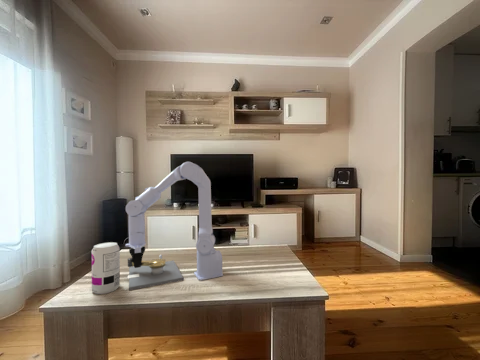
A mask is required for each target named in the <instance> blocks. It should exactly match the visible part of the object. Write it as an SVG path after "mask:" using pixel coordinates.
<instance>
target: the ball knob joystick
mask: <svg viewBox="0 0 480 360" xmlns="http://www.w3.org/2000/svg"><path fill="white" fill-rule="evenodd" d="M165 262H166V259H165V258H162V259H159V258H156V259H152V260H142V262H141V266H149V267H150V268H160V267H163V266H165V265H166V263H165ZM133 266H134V263H133V259H132V257H128V258H127V267H128V268H129V267H133Z"/></svg>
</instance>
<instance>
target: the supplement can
mask: <svg viewBox="0 0 480 360" xmlns="http://www.w3.org/2000/svg"><path fill="white" fill-rule="evenodd" d="M120 254H121V253H120V246H119V245H118V242H113V241H110V242H109V241H107V242H102V243H98V244H95V245H93V248H92V249H91V292H92V293H94V294H95V295H105V294H109V293H112V292H114V291H116V290H117V289H118V288H119V287H120V284H121V283H120V282H121V280H120V277H121V275H120V273H121V270H120V267H121V266H120V262H121V261H120V258H121V257H120V256H121V255H120Z"/></svg>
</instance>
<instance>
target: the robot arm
mask: <svg viewBox="0 0 480 360" xmlns="http://www.w3.org/2000/svg"><path fill="white" fill-rule="evenodd" d="M207 175H208V174H206V173H205V171H204V169H203V168H202V167H200V165H198V164H197V163H193V162H191V161H185V162H183V163H182V164H181V165H179V166H177V167H176V168H174V169H173V170H172V171H171V172H170V173H169V174H168V175H167V176H166V177H164V178H163V179H162V180H161V181H160V182H159V183H158V184H157V185H155V187H154V186H149V187H146V188H144V191H143V192H142V193H141V194H140V195H138V196H135V197H134V200H133V199H132V200H130V201H128V203H127V204H126V205H125V212H126V213H127V215H128V243H125V247H126V248H128V247H129V250H128V251H129V254H130V255H131V258H132V259H133V263H134V267H135V268H138V267H141V262H142V261H143V256H144V253H145V252H146V219H145V218H146V217H145V215H146V212H147V210H148V209H149V208H150V207H151V206H153V205H154V204H155V203H156V202H158V201H159V200H160V199H161V196H162V193H163V192H164V191H166V190H168V189H169V188H170V187H171V186H172V185H174V184H175V183H177V182H178V181H183V180H186V179H187V180H189V181H191V182H192V183H193V184H194V185H196V186H197V188H198V191H197V192H198V193H197V194H198V225H199V226H198V234H197V236H198V238H197V240H196V244H195V248H196V271H194V272H193V274H194V276H195V277H196V279H197V280H198V281H204V280H209V279H215V278H218V277H219V278H221V277H223V276H224V274H223V254H222V252H221V251H220V250H216V248H215V247H214V246H215V243H216V237H215V235H214V229H213V224H212V221H213V220H212V219H213V218H212V189H211V188H212V187H211V186H212V182H211V179H210V177H209V176H207Z"/></svg>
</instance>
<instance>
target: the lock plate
mask: <svg viewBox="0 0 480 360" xmlns="http://www.w3.org/2000/svg"><path fill="white" fill-rule="evenodd" d="M158 257H159V258H158V259H163V254H159V256H158ZM165 263H166V265H165V266H163V267H160V268H150V267H149V266H141V267H138V268H135V267H134V266H133V267H128V275H127V279H128V291H133V290H138V289H144V288H149V287H155V286H161V285H164V284H165V285H166V284H170V283H174V282H175V283H177V282H181V281H184V277H183V275H182V273H181V271H180V269H179V267H178V265H177V264H176V262H175V260H170V261H169V260H168V261H165Z"/></svg>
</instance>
